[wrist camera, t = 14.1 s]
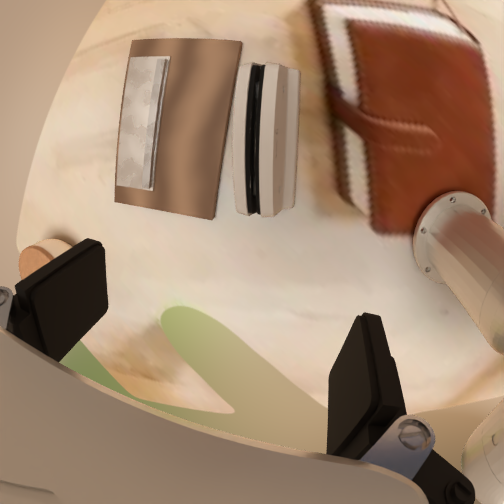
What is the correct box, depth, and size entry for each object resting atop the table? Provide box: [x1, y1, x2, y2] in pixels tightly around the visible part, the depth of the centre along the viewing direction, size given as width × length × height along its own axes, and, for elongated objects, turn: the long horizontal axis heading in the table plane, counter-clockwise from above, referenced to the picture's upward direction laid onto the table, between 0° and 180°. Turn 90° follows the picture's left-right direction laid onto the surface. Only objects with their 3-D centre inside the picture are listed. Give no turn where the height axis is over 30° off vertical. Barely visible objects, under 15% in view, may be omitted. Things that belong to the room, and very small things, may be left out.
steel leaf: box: [117, 56, 171, 191], centre depth 33 cm, size 6×17×1 cm, turn 170°
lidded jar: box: [19, 239, 72, 280], centre depth 40 cm, size 11×11×9 cm
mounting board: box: [115, 38, 242, 220], centre depth 33 cm, size 14×22×1 cm, turn 170°
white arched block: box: [232, 62, 300, 217], centre depth 29 cm, size 17×5×10 cm, turn 179°
